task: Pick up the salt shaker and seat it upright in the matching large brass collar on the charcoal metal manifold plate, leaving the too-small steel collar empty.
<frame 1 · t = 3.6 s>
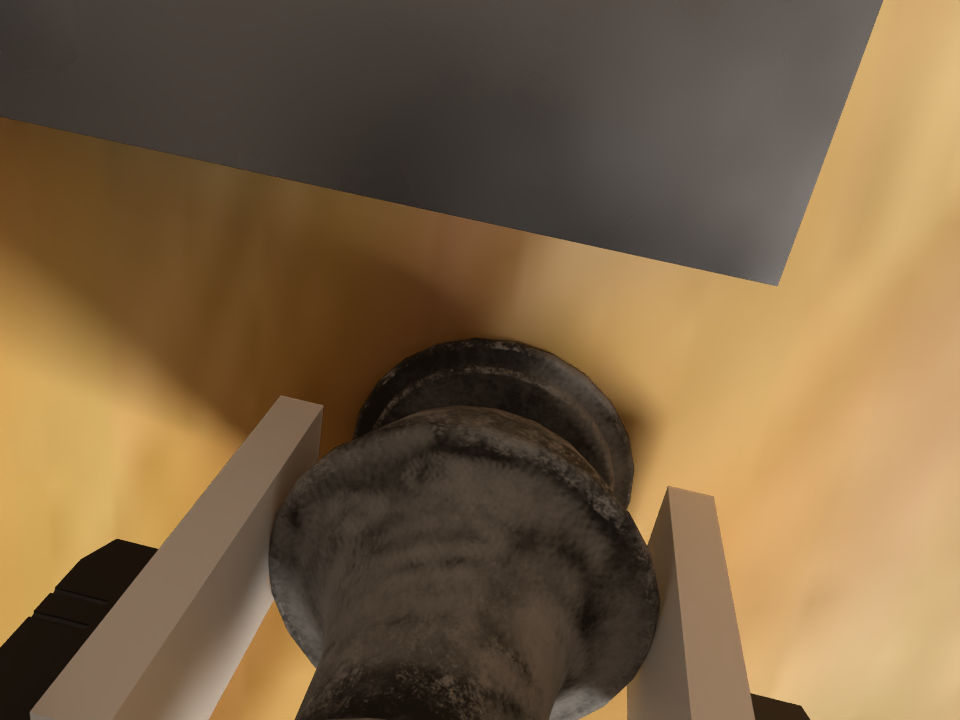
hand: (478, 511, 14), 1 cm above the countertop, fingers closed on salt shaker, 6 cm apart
salt shaker: (491, 461, 15), on the countertop, touching gripper
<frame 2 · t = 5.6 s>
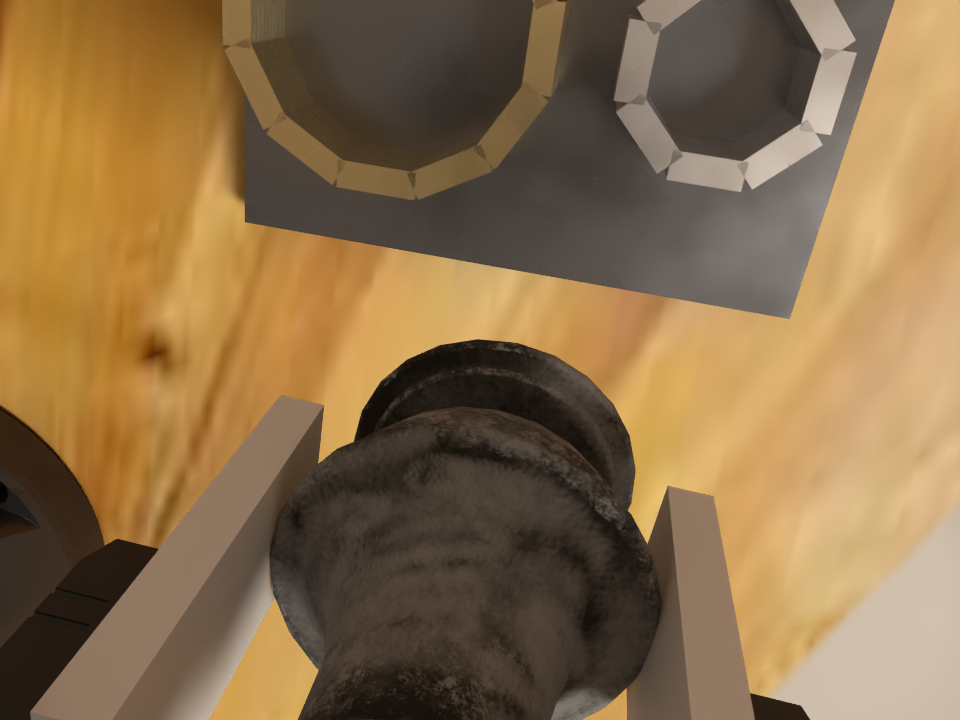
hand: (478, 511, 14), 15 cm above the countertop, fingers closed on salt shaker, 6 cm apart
salt shaker: (493, 462, 15), point 13 cm above the countertop, touching gripper
manifold plate: (548, 37, 24), on the countertop
when the fingers open (4 cm above the countertop, at t = 7.9 s): salt shaker drops 1 cm, resting on manifold plate.
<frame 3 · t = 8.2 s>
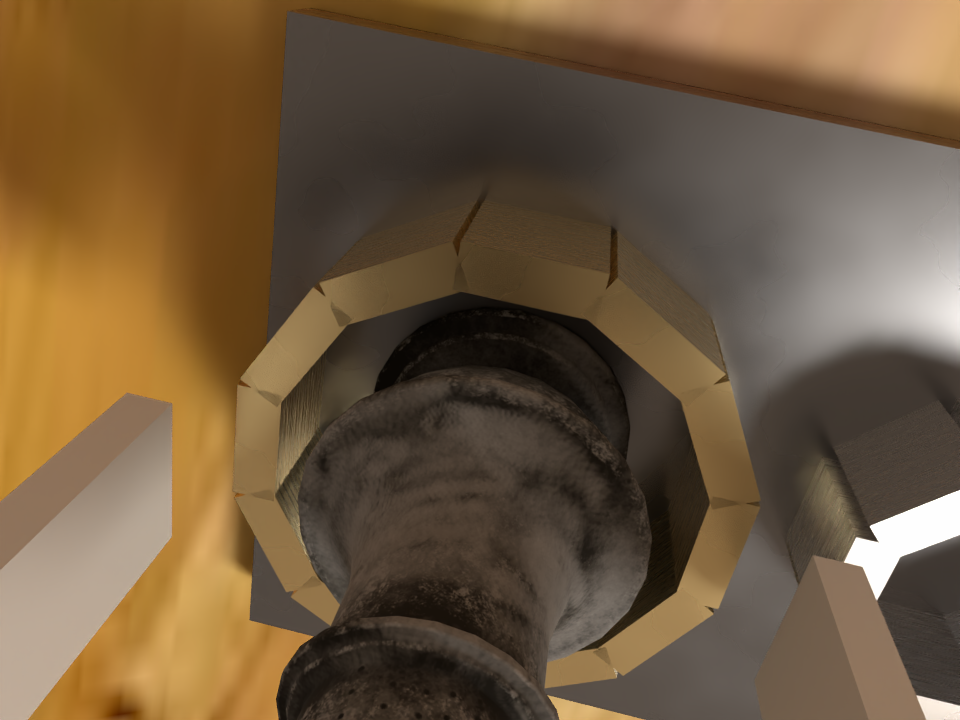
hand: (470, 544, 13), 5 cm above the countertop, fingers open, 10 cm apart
salt shaker: (499, 422, 17), point 1 cm above the countertop, touching manifold plate
manifold plate: (689, 441, 17), on the countertop
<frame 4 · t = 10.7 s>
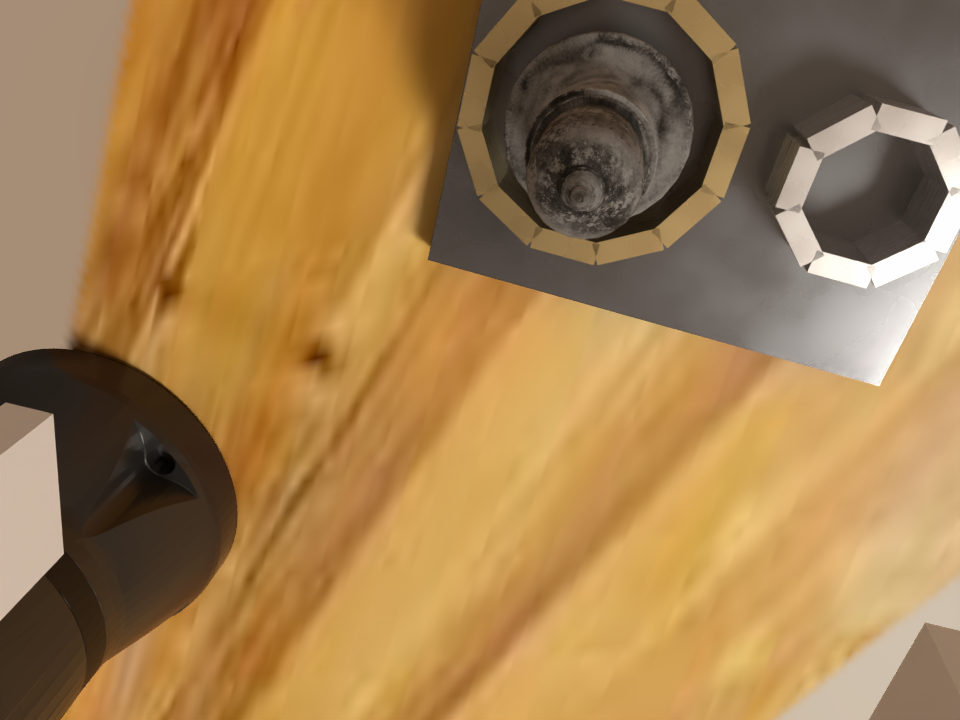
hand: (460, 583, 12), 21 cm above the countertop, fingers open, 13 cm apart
salt shaker: (601, 113, 29), point 1 cm above the countertop, touching manifold plate
manifold plate: (710, 138, 29), on the countertop
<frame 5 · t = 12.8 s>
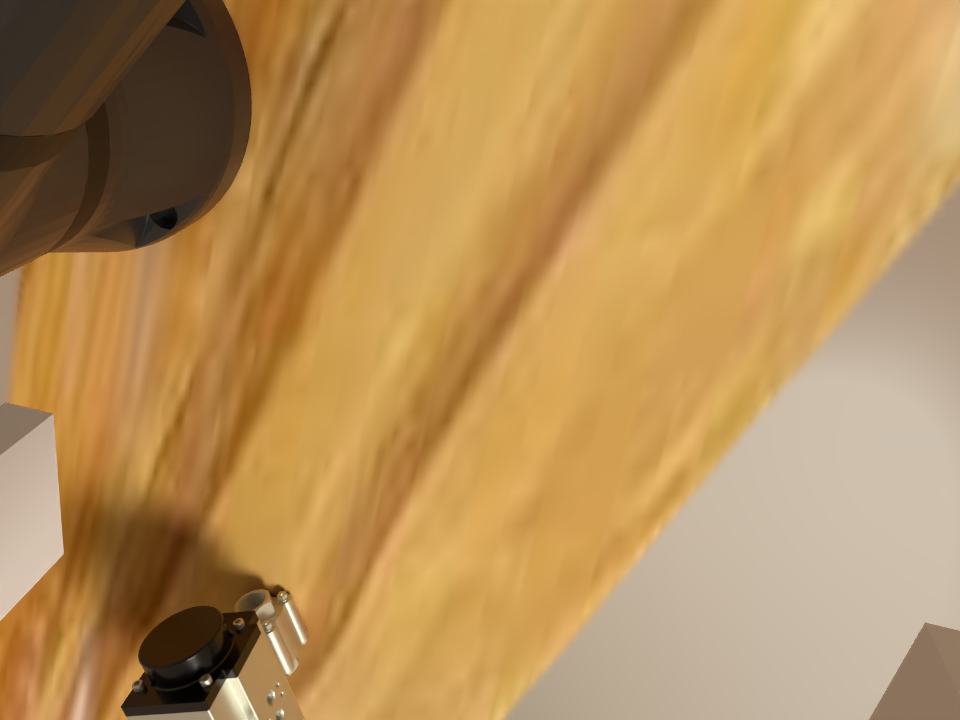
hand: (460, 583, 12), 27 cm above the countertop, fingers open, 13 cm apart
pneumatic valve: (284, 612, 50), on the countertop
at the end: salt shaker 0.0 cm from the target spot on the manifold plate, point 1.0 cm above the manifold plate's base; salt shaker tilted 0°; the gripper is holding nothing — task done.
